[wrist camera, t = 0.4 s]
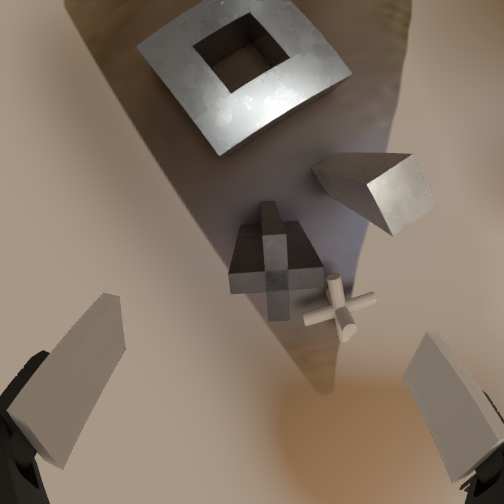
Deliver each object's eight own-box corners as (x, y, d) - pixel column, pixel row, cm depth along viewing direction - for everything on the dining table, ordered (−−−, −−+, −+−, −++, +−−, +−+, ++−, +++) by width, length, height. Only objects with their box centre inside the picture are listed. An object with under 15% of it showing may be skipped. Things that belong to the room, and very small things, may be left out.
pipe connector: (306, 328, 43) (316, 370, 33) (290, 271, 40) (300, 307, 30) (366, 309, 42) (389, 347, 32) (358, 251, 38) (385, 281, 29)
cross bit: (238, 203, 37) (223, 238, 22) (297, 199, 36) (323, 231, 21) (244, 258, 39) (234, 323, 24) (299, 254, 39) (322, 317, 24)
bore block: (161, 67, 31) (135, 46, 22) (260, 6, 27) (260, -28, 19) (229, 156, 35) (219, 156, 26) (331, 91, 31) (352, 74, 23)
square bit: (310, 168, 35) (366, 184, 16) (335, 152, 34) (412, 153, 15) (326, 194, 36) (393, 236, 17) (351, 178, 35) (435, 206, 16)
